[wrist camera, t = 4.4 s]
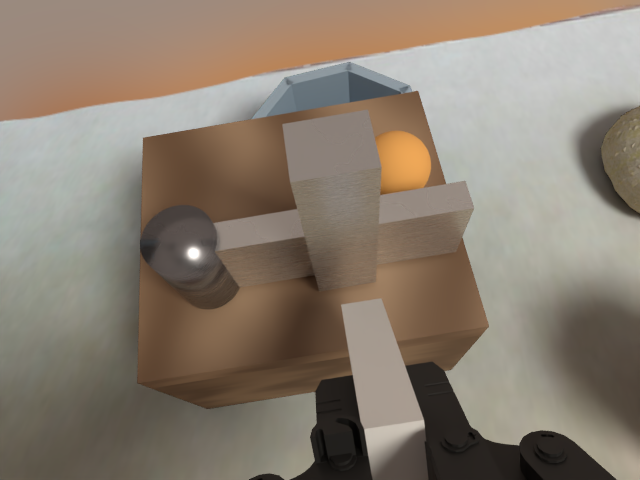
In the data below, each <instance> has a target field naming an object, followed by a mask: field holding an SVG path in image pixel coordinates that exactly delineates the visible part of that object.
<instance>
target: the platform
mask: <svg viewBox="0 0 640 480" xmlns="http://www.w3.org/2000/svg"><path fill="white" fill-rule="evenodd" d="M362 110H368V112H369V116H370V120H371V124H372V128H373V133H374V137H377V136H378V135H380V134H383V133H385V132H388V131H404V132H408V133H410V134H412V135H414V136H416V137H417V138H418V139H420V140H421V141H422V142H423V144H424V145H425V146H426V148H427V150H428V152H429V155H430V159H431V172H430V176H429V179H428V181H427V183H426V185H425V186H424V187H423V188H426V187H432V186H438V185H444V184H446V182H445V179H444V175H443V172H442V169H441V165H440V162H439V159H438V155H437V152H436V149H435V145H434V142H433V139H432V135H431V132H430V129H429V125H428V122H427V119H426V115H425V112H424V109H423V106H422V102H421V99H420V96H419V92H418V91H414V92H409V93H403V94H397V95H391V96H385V97H379V98H373V99H368V100H362V101H356V102H350V103H344V104H338V105H332V106H327V107H321V108H315V109H309V110H303V111H297V112H291V113H286V114H280V115H274V116H268V117H262V118H256V119H250V120H245V121H239V122H233V123H227V124H221V125H215V126H209V127H204V128H198V129H192V130H186V131H180V132H174V133H169V134H163V135H157V136H151V137H145V138H143V161H142V204H141V236H142V233H143V230H144V228H145V227H146V225H147V224H148V222H149V221H150V220H151V219H152V218H153V217H154V216H155V215H156V214H158V213H159V212H161V211H162V210H164V209H167V208H169V207H172V206H177V205H190V206H194V207H197V208H199V209H201V210H202V211H204V212H205V213H206V214H207V215H208V216H209V218H210V219H211V221H212V222H213V223H217V222H223V221H229V220H235V219H241V218H247V217H253V216H259V215H265V214H271V213H277V212H283V211H288V210H294V209H297V206H296V202H295V199H294V195H293V191H292V187H291V184H290V178H289V170H288V163H287V155H286V148H285V141H284V133H283V126H282V124H286V123H292V122H298V121H303V120H309V119H315V118H321V117H327V116H333V115H339V114H345V113H350V112H356V111H362ZM380 298H381V299H382V302H383V304H384V307H385V310H386V313H387V316H388V319H389V322H390V324H391V327H392V330H393V333H394V336H395V339H396V342H397V344H398V347H399V350H400V353H401V356H402V359H403V361H404V364H405V366H406V365H413V364H419V363H426V362H432V361H433V362H434V363H435V364H436V365H438V366H439V367H440V368H442V369H443V370H444V371H447V370H451V369H452V368H453V367H454V366H455V365H456V364H457V363H458V361H459V360H460V359H461V358H462V357H463V356H464V354H465V353H466V352H467V351H468V350H469V349H470V348H471V346H472V345H473V344H474V343H475V342H476V341H477V340H478V338H479V337H480V336H481V335H482V334H483V333H484V332H485V330H486V329H487V328H488V327H489V325H488V321H487V318H486V315H485V311H484V308H483V305H482V301H481V298H480V295H479V291H478V288H477V285H476V281H475V278H474V275H473V272H472V268H471V265H470V262H469V258H468V255H467V252H466V248H465V245H464V242H463V238H462V239H461V241H460V243H459V246H458V248H457V251H456V252H452V253H446V254H440V255H434V256H428V257H422V258H416V259H410V260H404V261H397V262H391V263H385V264H379V265H377V267H376V282H375V283H369V284H363V285H357V286H350V287H344V288H338V289H332V290H326V291H320V292H319V288H318V285H317V281H316V277H315V275H312V276H306V277H300V278H294V279H288V280H282V281H276V282H270V283H264V284H258V285H252V286H246V287H240V288H239V290H238V292H237V294H236V295H235V297H234V298H233V299H232V300H231V301H229V302H228V303H227V304H225V305H223V306H221V307H219V308H215V309H200V308H197V307H195V306H193V305H191V304H190V303H189V302H188V301H187V300H186V299H185V298H184V297H183V296H181V295H180V294H179V293H178V292H177V291H176V290H175V289H174V288H173V287H172V286H171V285H170V284H169V283H167V282H166V281H165V280H164V279H163V278H162V277H161V276H160V275H159V274H158V273H157V272H156V271H155V270H153V269H152V268H151V267H150V266H149V265H148V264H147V263H146V261H145V260H144V258H143V256H142V254H141V249H140V291H139V334H138V377H137V383H138V384H141V385H144V386H146V387H149V388H152V389H154V390H157V391H160V392H163V393H165V394H168V395H171V396H174V397H176V398H179V399H182V400H184V401H187V402H190V403H193V404H195V405H198V406H201V407H204V408H206V409H210V408H216V407H222V406H229V405H235V404H241V403H247V402H254V401H260V400H266V399H272V398H279V397H285V396H291V395H297V394H304V393H310V392H315V391H316V389H317V387H318V385H319V384H320V382H321V380H324V379H330V378H337V377H343V376H349V375H352V370H351V364H350V357H349V351H348V345H347V339H346V332H345V326H344V320H343V314H342V307H341V305H342V304H348V303H355V302H361V301H367V300H373V299H380Z"/></svg>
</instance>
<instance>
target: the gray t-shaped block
mask: <svg viewBox="0 0 640 480" xmlns="http://www.w3.org/2000/svg"><path fill="white" fill-rule="evenodd" d="M282 126H283V133H284V141H285V148H286V155H287V163H288V170H289V178H290V184H291V187H292V191H293V195H294V199H295V202H296V206H297V209H294V210H288V211H283V212H277V213H271V214H265V215H259V216H253V217H247V218H241V219H235V220H229V221H223V222H217V223H213V222H212V221H211V219H210V218H209V216H208V215H207V214H206V213H205V212H204V211H202V210H201V209H199V208H197V207H194V206H190V205H177V206H172V207H169V208H167V209H164V210H162V211H161V212H159V213H158V214H156V215H155V216H154V217H153V218H152V219H151V220H150V221H149V222H148V224H147V225H146V227H145V228H144V230H143V233H142V236H141V240H140V249H141V254H142V256H143V258H144V260H145V261H146V263H147V264H148V265H149V266H150V267H151V268H152V269H153V270H155V271H156V272H157V273H158V274H159V275H160V276H161V277H162V278H163V279H164V280H165V281H166V282H167V283H169V284H170V285H171V286H172V287H173V288H174V289H175V290H176V291H177V292H178V293H179V294H180V295H181V296H183V297H184V298H185V299H186V300H187V301H188V302H189V303H190V304H191V305H193V306H195V307H197V308H200V309H215V308H219V307H221V306H223V305H225V304H227V303H228V302H229V301H231V300H232V299H233V298H234V297H235V295H236V294H237V292H238V290H239V288H240V287H246V286H252V285H258V284H264V283H270V282H276V281H282V280H288V279H294V278H300V277H306V276H312V275H315V277H316V281H317V285H318V288H319V292H320V291H326V290H332V289H338V288H344V287H350V286H357V285H363V284H369V283H375V282H376V267H377V265H379V264H385V263H391V262H397V261H404V260H410V259H416V258H422V257H428V256H434V255H440V254H446V253H452V252H456V251H457V248H458V246H459V243H460V241H461V239H462V236H463V234H464V231H465V229H466V227H467V224H468V222H469V219H470V217H471V215H472V212H473V210H474V206H473V203H472V200H471V197H470V194H469V191H468V188H467V185H466V181H462V182H456V183H450V184H444V185H438V186H432V187H426V188H420V189H414V190H408V191H402V192H396V193H390V194H384V195H380V189H381V169H382V166H381V162H380V158H379V154H378V150H377V145H376V141H375V137H374V133H373V128H372V124H371V120H370V116H369V112H368V110H362V111H356V112H350V113H345V114H339V115H333V116H327V117H321V118H315V119H309V120H303V121H298V122H292V123H286V124H282Z"/></svg>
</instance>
